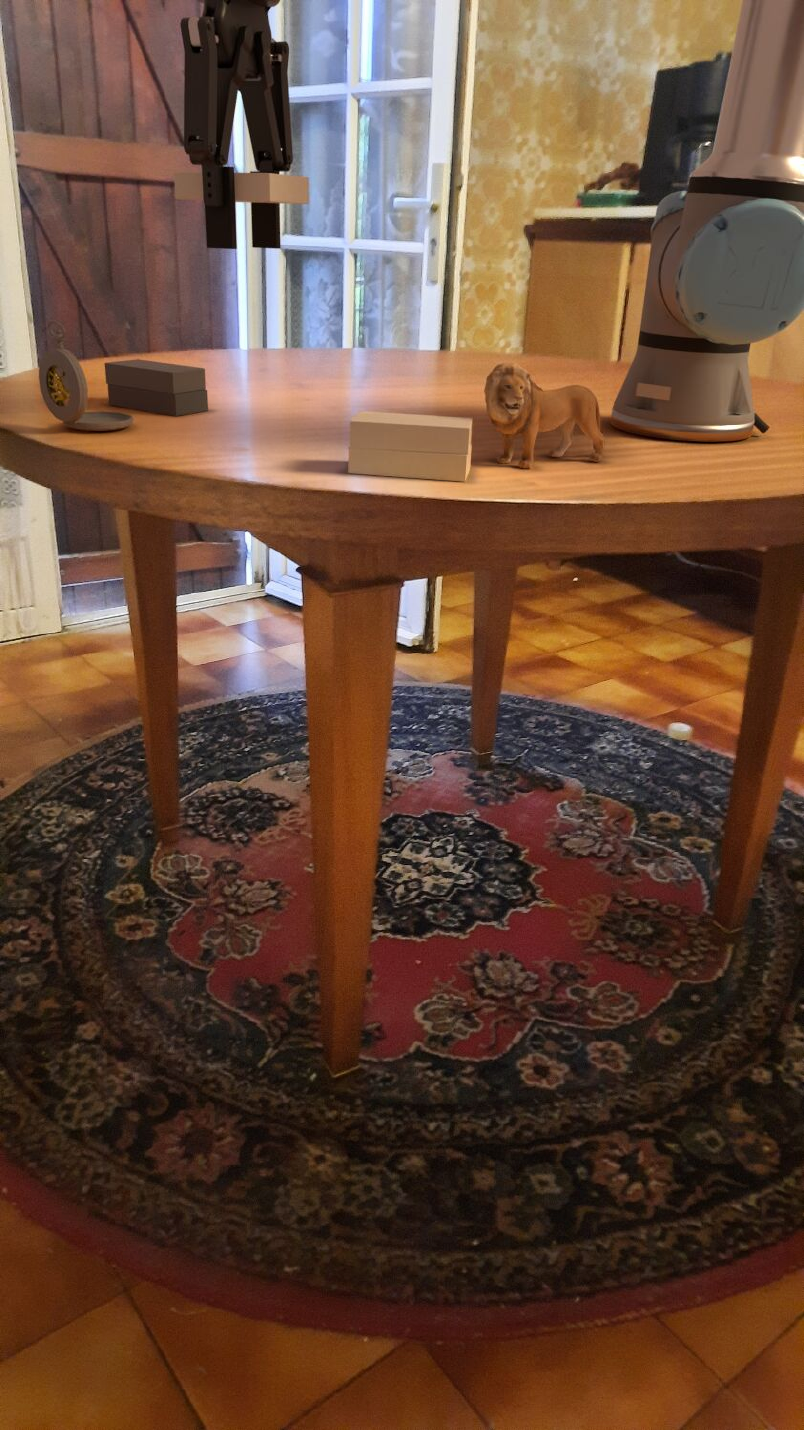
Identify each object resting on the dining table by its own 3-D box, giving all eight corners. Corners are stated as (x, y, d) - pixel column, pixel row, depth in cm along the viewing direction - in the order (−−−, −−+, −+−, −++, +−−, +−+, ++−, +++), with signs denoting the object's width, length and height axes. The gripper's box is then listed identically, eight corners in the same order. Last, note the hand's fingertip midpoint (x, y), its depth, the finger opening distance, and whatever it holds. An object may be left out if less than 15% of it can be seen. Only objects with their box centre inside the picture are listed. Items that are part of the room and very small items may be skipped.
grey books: (208, 410, 111) (206, 368, 109) (176, 416, 107) (173, 372, 106) (140, 399, 116) (137, 359, 114) (107, 404, 112) (104, 362, 110)
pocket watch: (142, 423, 103) (135, 317, 99) (113, 439, 95) (104, 325, 91) (63, 419, 103) (53, 313, 99) (28, 434, 96) (15, 320, 92)
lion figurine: (504, 476, 88) (513, 367, 84) (464, 464, 92) (471, 359, 88) (619, 460, 96) (632, 360, 92) (578, 450, 100) (589, 353, 96)
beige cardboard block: (471, 469, 90) (474, 418, 88) (466, 482, 85) (469, 428, 83) (358, 460, 91) (359, 410, 89) (346, 473, 86) (347, 420, 84)
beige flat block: (309, 204, 94) (309, 177, 93) (270, 201, 89) (269, 173, 88) (218, 201, 98) (217, 175, 97) (174, 199, 92) (173, 171, 91)
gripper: (259, -26, 95) (265, 246, 105) (122, -82, 78) (145, 247, 88) (330, -30, 92) (330, 249, 102) (204, -90, 75) (219, 250, 85)
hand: (244, 247), depth 95 cm, fingers closed on beige flat block, 7 cm apart
